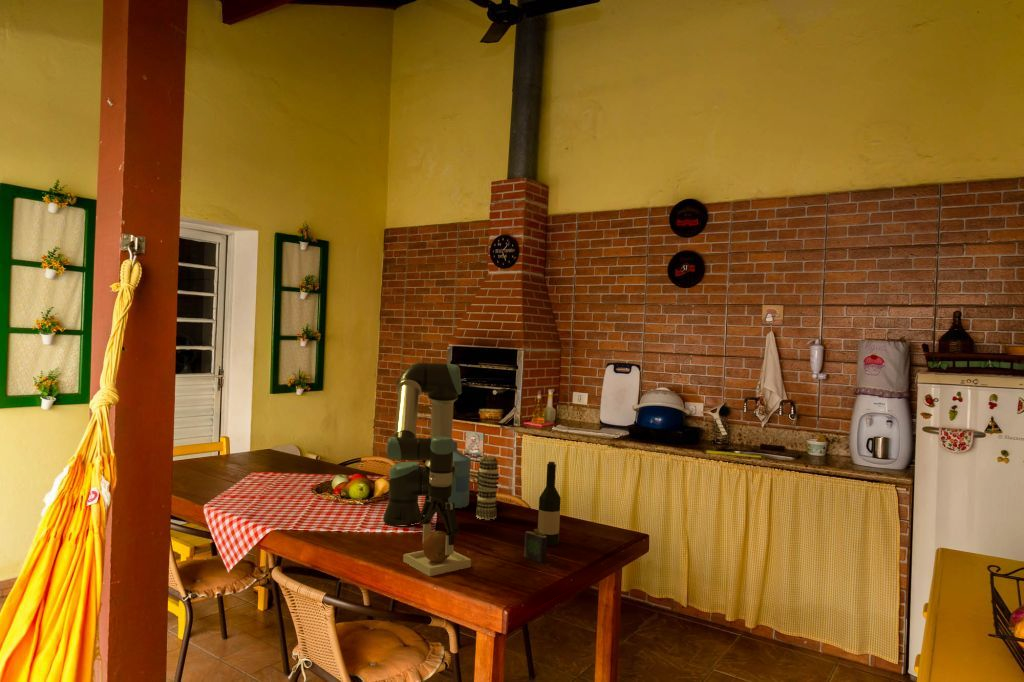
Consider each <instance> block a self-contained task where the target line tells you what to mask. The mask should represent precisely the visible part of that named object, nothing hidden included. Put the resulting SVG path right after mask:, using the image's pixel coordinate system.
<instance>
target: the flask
mask: <svg viewBox="0 0 1024 682" xmlns="http://www.w3.org/2000/svg"><path fill="white" fill-rule="evenodd" d="M538 530H539V529H538V528H534V529H533V531H530V530H529V531H528V530H526V531H525V533H524V551H523V557H524V558H525V559H526V558H527V560H530V559H532V560H536V561H538V562H537V563H539V562H541V563H540V564H543V563H545V562H546V563H547V537H546V536H544V534H543V535H542V534H540V532H539V531H538ZM532 560H531V561H532ZM546 563H545V564H546Z"/></svg>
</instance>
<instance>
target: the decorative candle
mask: <svg viewBox="0 0 1024 682" xmlns="http://www.w3.org/2000/svg"><path fill="white" fill-rule="evenodd" d="M478 461H479V468H478V471H477V473H476V475H477V485H476V487H477V490H478V491H477V493H478V495H477V500H476V512H475V515H476V516H475V517H477V518H476V519H478V518H479V519H478V520H481V519H485V520H484V521H491V520H490V519H493V520H495V518H496V519H497V514H498V513H497V511H498V509H497V507H498V504H497V503H498V500H497V491H498V488H499V486H498V485H499V482H498V480H500V478H499V476H500V474H499V472H498V471H499V470H498V469H499V468H498V464H499V460H498V459H497V458H496V457H494V456H489V455H488V456H482V457H481V458H480V459H479V460H478Z"/></svg>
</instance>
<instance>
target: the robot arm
mask: <svg viewBox="0 0 1024 682" xmlns="http://www.w3.org/2000/svg"><path fill="white" fill-rule="evenodd" d="M395 391H396V392H395V393H396V394H397V404H396V413H395V414H396V415H395V423H394V435H393V436H391V437H388V438H387V445H386V457H387V459H389V460H395V461H396V460H397V461H404V462H398V463H396V464H394V465H392V466H391V467H390V469H389V476H388V479H389V485H388V486H389V487H388V502H387V506H386V508H385V510H384V513H383V516H382V517H383V519H382V522H383V521H384V522H385V523H387V524H390V525H389V526H391V525H411V524H415V523H419V522H420V521H421V523H422V541H421V542H422V543H421V544H422V545H423V543H424V540H425V538H426V536H427V535H428V534H430V533H432V519H434V516H435V514H436V513H437V514H439V517H441V519H442V523H443V525H444V528H445V530H446V545H445V555H451V554H453V551H455V550H454V545H455V536H456V535H459V534H460V528H459V523H458V520H457V515H456V509H455V504H454V503H449V501H448V498H449V497H450V496H451V495H452V494H453V493H454V490H455V486H456V480H457V471H458V470H457V467H455V466H454V462H453V450H454V441H455V440H454V439H453V419H454V403H455V402H456V401H457V400H458V399H459V398H458V396H459V395H461V394H462V393H463V391H462V380H461V369H460V366H459V365H458V364H452V363H445V362H443V363H442V362H441V363H440V362H439V363H438V362H437V363H436V362H435V363H434V362H417V363H414V364H412V365H410V366H409V367H407V368H406V369H405V370H404V371H403V372H402V373H401V374H400V375H399V377H398V379H397V381H396V385H395ZM422 393H423V394H424V393H425V394H427V398H428V399H429V400H430V401H431V407H430V408H431V410H430V430H429V431H430V432H429V433H430V434H429V436H430V437H428V438H427V437H417V428H418V427H417V424H418V410H419V409H418V408H419V397H420V396H421V394H422ZM419 461H425V463H424V466H421V464H420V462H419ZM419 497H424V502H423V506H422V509H421V508H420V505H419ZM384 522H383V523H384ZM385 523H384V524H385ZM387 524H386V525H387Z"/></svg>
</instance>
